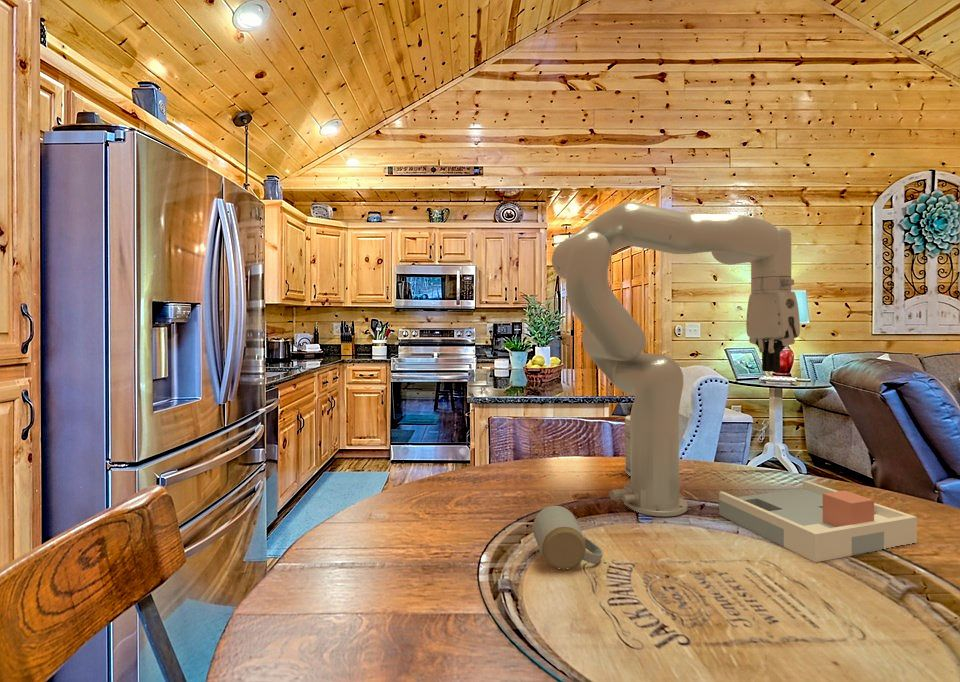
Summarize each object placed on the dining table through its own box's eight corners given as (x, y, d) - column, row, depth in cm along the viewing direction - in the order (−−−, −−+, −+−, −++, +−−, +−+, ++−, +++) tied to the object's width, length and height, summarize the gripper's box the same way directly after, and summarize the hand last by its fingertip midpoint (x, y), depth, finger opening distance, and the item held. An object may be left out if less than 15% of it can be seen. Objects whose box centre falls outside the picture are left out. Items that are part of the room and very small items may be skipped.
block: (851, 533, 80) (851, 503, 80) (822, 522, 85) (822, 493, 85) (874, 529, 82) (874, 499, 82) (844, 518, 86) (844, 490, 86)
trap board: (815, 562, 77) (815, 534, 77) (719, 514, 97) (718, 492, 97) (916, 543, 83) (917, 516, 83) (806, 501, 103) (806, 480, 103)
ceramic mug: (541, 574, 75) (541, 524, 75) (532, 549, 83) (532, 505, 83) (609, 572, 76) (610, 522, 76) (593, 548, 84) (594, 503, 84)
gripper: (816, 283, 100) (816, 373, 101) (756, 289, 114) (757, 367, 115) (787, 283, 98) (787, 375, 99) (730, 289, 112) (730, 369, 113)
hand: (770, 371), depth 107 cm, fingers closed
